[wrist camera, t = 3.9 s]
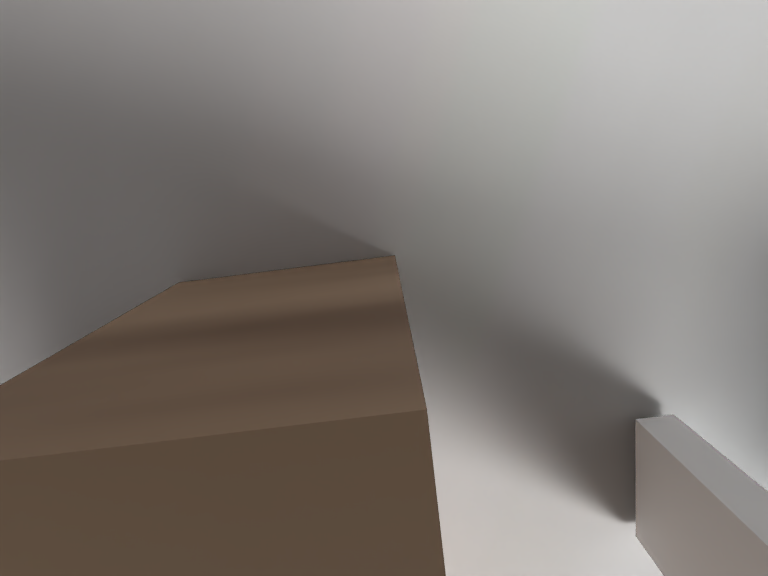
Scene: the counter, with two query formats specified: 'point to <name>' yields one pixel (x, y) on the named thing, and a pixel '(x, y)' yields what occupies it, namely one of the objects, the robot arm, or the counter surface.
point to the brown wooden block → (228, 436)
